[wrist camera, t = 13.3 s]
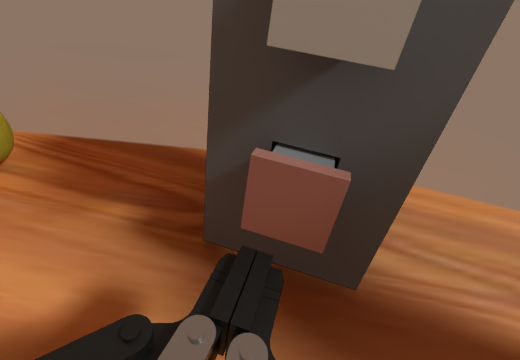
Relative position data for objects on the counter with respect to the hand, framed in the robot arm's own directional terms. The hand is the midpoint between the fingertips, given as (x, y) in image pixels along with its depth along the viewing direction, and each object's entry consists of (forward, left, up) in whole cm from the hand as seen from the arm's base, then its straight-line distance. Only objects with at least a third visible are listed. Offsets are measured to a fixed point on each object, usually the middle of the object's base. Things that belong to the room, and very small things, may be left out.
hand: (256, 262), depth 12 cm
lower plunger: (+5, -7, -3) cm, 9 cm away
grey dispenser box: (+9, -11, -9) cm, 17 cm away
